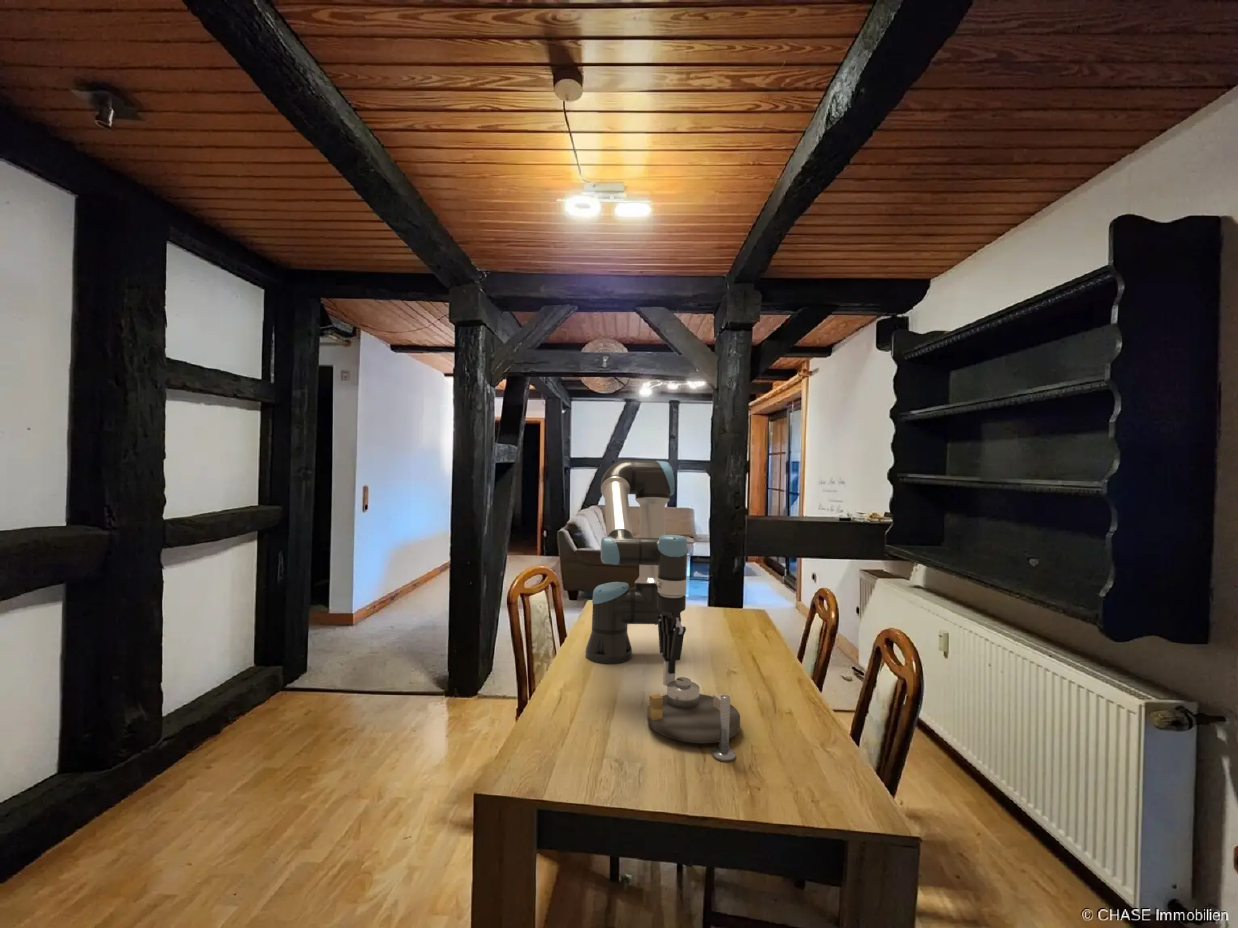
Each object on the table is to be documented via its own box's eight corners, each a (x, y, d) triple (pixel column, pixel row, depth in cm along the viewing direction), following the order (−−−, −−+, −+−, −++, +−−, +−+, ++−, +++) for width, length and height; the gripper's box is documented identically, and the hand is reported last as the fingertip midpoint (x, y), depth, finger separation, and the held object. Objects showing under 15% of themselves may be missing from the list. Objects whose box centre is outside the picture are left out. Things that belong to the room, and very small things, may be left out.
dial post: (706, 750, 122) (708, 692, 122) (726, 747, 124) (728, 689, 124) (719, 763, 117) (721, 702, 117) (739, 759, 119) (741, 699, 119)
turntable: (632, 706, 140) (633, 678, 140) (710, 696, 148) (710, 669, 147) (671, 749, 119) (672, 717, 119) (758, 734, 127) (759, 704, 127)
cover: (661, 697, 141) (662, 675, 141) (689, 693, 144) (690, 672, 144) (675, 711, 133) (676, 688, 133) (704, 707, 136) (705, 684, 136)
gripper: (648, 589, 151) (646, 676, 151) (669, 601, 139) (666, 695, 138) (673, 588, 153) (671, 673, 153) (696, 599, 141) (693, 692, 141)
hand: (668, 683), depth 146 cm, fingers closed
